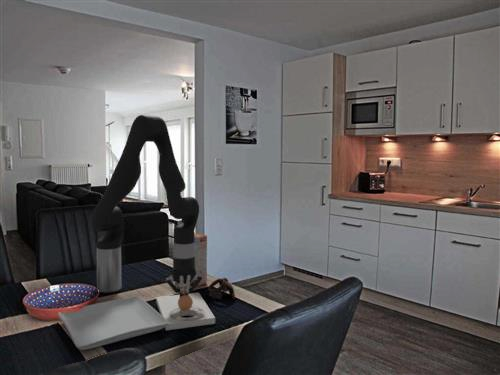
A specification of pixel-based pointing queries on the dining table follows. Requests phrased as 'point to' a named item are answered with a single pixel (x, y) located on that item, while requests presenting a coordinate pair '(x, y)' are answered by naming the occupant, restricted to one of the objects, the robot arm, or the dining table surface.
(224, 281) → the brown openwork arch
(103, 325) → the square plate
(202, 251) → the cracker box
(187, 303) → the ball
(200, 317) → the white flat slab
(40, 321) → the dining table surface
